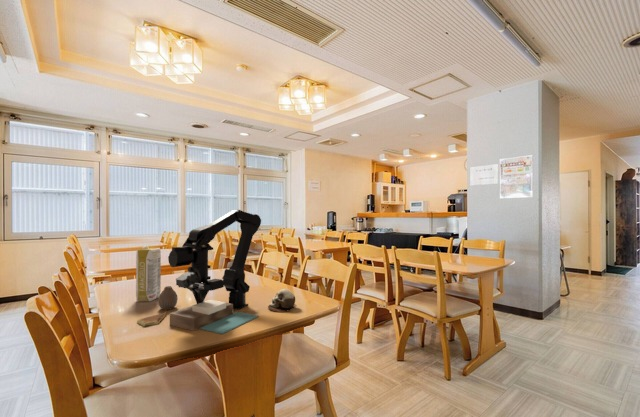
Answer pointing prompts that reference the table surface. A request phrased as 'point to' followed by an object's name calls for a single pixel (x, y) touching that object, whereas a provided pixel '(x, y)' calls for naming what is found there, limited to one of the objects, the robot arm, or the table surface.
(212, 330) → the mat
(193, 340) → the table surface
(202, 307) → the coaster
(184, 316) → the brick
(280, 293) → the skull
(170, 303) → the vase
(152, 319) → the shard
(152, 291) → the juice carton
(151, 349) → the table surface
